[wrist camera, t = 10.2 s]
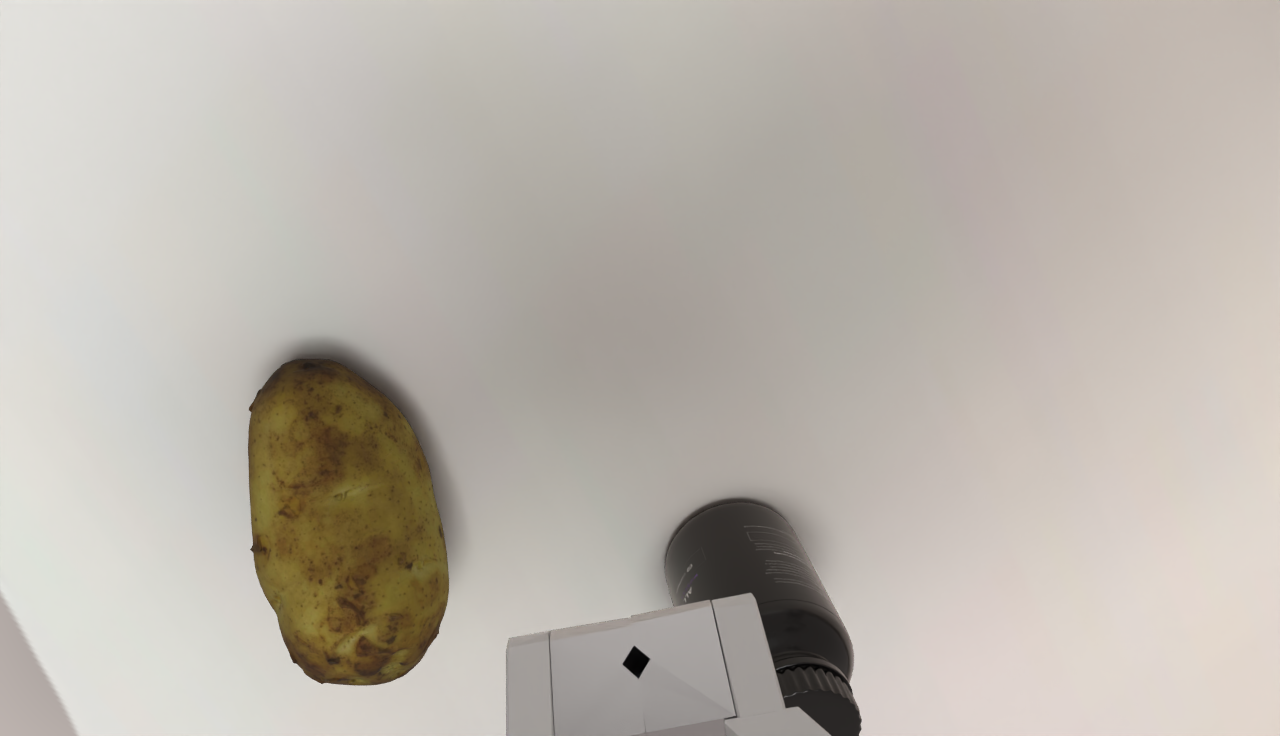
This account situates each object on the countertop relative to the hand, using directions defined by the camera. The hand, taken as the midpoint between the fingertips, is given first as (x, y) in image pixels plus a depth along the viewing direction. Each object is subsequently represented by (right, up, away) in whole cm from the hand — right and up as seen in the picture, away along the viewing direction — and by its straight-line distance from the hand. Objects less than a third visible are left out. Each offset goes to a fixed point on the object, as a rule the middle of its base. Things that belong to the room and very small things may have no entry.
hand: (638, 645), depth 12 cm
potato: (-12, -1, +32) cm, 34 cm away
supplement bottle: (+4, -6, +37) cm, 38 cm away
